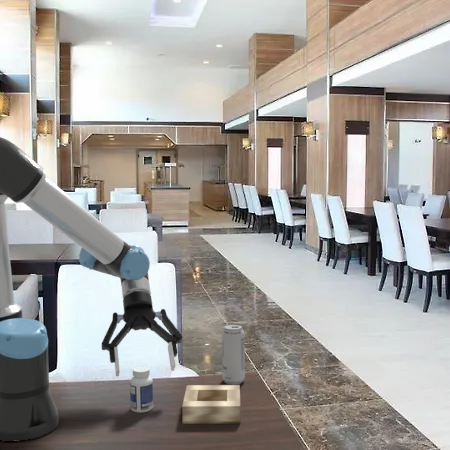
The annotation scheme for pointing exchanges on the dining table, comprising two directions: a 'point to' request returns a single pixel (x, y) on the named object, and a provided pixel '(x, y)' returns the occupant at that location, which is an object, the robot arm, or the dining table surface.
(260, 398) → the dining table surface
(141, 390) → the pill bottle
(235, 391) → the socket block
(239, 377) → the energy drink can
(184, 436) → the dining table surface
